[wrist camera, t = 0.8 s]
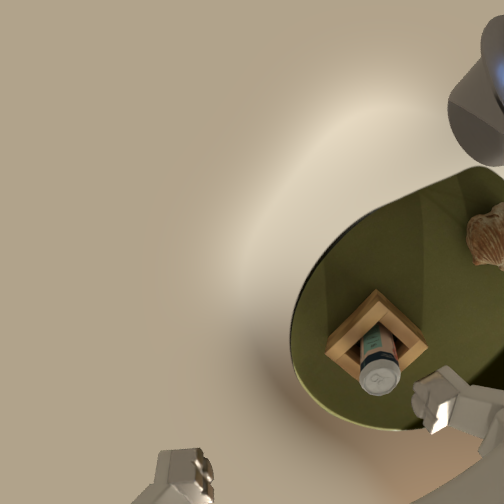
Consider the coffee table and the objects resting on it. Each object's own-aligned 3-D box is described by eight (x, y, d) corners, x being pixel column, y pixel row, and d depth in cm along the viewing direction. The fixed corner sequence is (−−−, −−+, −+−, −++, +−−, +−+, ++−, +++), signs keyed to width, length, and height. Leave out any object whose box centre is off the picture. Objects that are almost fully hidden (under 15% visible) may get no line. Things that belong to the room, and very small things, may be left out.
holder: (375, 288, 37) (378, 300, 32) (421, 331, 36) (428, 347, 31) (328, 336, 40) (324, 353, 36) (373, 374, 39) (374, 394, 34)
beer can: (378, 354, 38) (382, 404, 27) (353, 339, 39) (350, 387, 28) (397, 329, 37) (410, 375, 26) (372, 313, 38) (377, 356, 27)
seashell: (511, 249, 29) (503, 196, 28) (537, 262, 23) (530, 201, 22) (465, 270, 32) (455, 215, 31) (487, 287, 26) (478, 223, 25)
